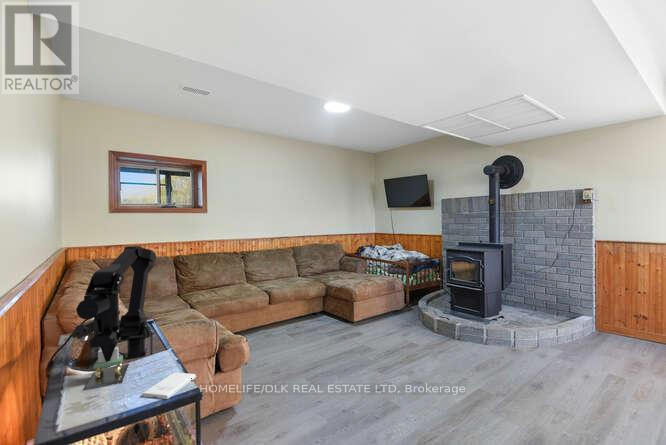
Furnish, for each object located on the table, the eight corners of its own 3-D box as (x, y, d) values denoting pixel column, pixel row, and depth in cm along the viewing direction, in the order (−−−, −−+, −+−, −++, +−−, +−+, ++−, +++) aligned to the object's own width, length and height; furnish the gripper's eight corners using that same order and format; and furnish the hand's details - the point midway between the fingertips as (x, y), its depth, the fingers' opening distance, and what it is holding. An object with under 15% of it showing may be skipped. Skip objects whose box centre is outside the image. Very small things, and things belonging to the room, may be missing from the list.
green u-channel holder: (96, 362, 102) (96, 348, 102) (123, 358, 105) (122, 344, 105) (93, 369, 97) (93, 354, 97) (121, 364, 100) (120, 349, 100)
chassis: (96, 371, 105) (96, 361, 105) (128, 366, 109) (128, 356, 109) (85, 389, 93) (85, 378, 93) (122, 382, 97) (122, 371, 97)
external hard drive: (196, 379, 99) (167, 400, 87) (172, 377, 101) (141, 398, 89) (195, 374, 99) (167, 394, 87) (172, 372, 101) (141, 392, 89)
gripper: (84, 306, 106) (85, 354, 106) (66, 321, 89) (67, 377, 89) (124, 302, 111) (125, 347, 111) (113, 316, 94) (114, 369, 94)
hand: (108, 359), depth 101 cm, fingers closed on green u-channel holder, 2 cm apart
